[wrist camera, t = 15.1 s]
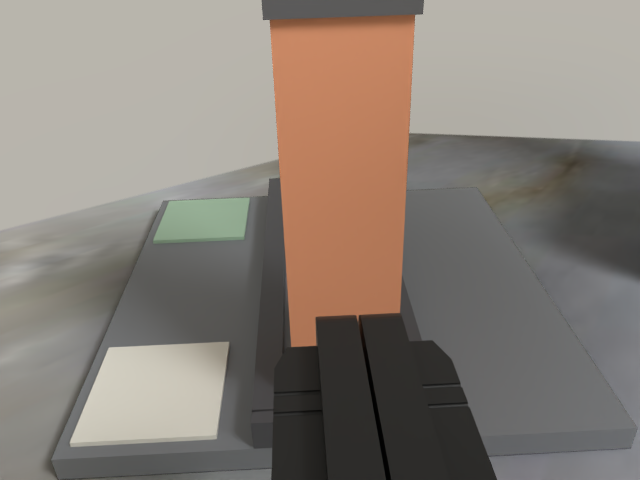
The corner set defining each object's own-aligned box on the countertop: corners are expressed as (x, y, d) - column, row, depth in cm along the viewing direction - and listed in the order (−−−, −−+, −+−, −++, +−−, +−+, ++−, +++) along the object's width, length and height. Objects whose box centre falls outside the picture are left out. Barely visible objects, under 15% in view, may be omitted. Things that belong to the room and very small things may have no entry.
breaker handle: (382, 336, 24) (395, -53, 17) (400, 416, 21) (426, -42, 13) (291, 340, 24) (266, -49, 17) (291, 422, 20) (259, -36, 13)
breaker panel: (475, 201, 38) (478, 169, 37) (630, 448, 21) (646, 402, 20) (165, 214, 38) (160, 183, 36) (58, 479, 20) (41, 434, 19)
